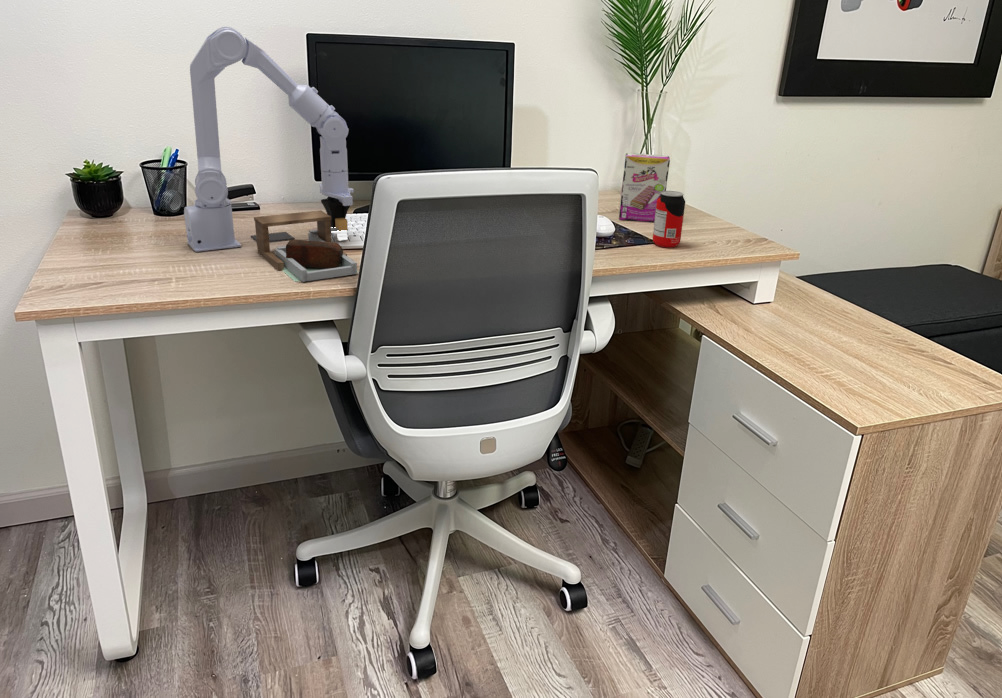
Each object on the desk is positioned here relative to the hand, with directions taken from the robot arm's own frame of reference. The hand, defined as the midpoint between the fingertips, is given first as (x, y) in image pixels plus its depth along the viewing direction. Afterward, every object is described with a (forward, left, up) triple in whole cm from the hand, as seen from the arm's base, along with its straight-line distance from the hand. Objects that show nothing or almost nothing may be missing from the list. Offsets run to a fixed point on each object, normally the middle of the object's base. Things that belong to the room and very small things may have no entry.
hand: (337, 231), depth 175 cm
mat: (-12, -20, -2) cm, 24 cm away
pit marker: (-13, +6, -2) cm, 14 cm away
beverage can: (+65, -37, -2) cm, 75 cm away
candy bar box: (+76, -16, -2) cm, 78 cm away
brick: (-12, -19, -1) cm, 22 cm away
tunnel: (-12, -10, -2) cm, 16 cm away
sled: (-8, -14, -1) cm, 16 cm away
